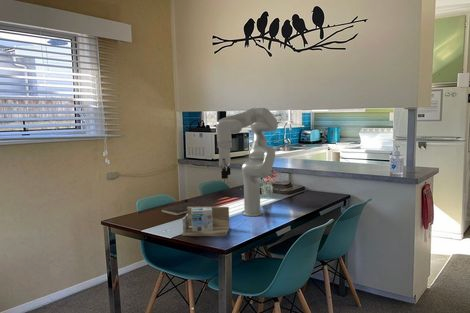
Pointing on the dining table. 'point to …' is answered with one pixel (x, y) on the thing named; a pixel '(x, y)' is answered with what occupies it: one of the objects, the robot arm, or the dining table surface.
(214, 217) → the shelf
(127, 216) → the dining table surface
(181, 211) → the hardcover book
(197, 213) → the light bulb box
